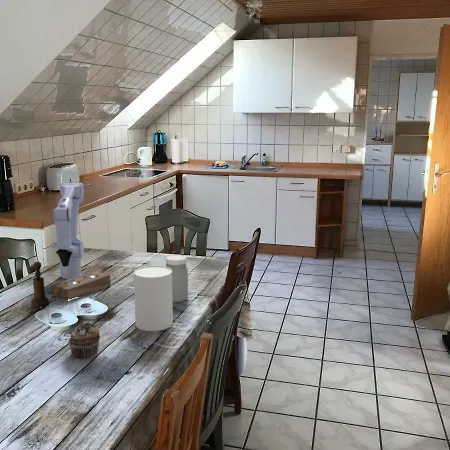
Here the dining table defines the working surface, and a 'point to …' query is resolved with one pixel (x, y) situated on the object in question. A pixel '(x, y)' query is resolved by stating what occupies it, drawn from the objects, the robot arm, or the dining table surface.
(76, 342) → the cupcake
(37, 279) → the dark brown tall piece
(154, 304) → the canister
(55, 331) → the dining table surface
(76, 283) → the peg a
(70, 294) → the walnut frame
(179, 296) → the jar
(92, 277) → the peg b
